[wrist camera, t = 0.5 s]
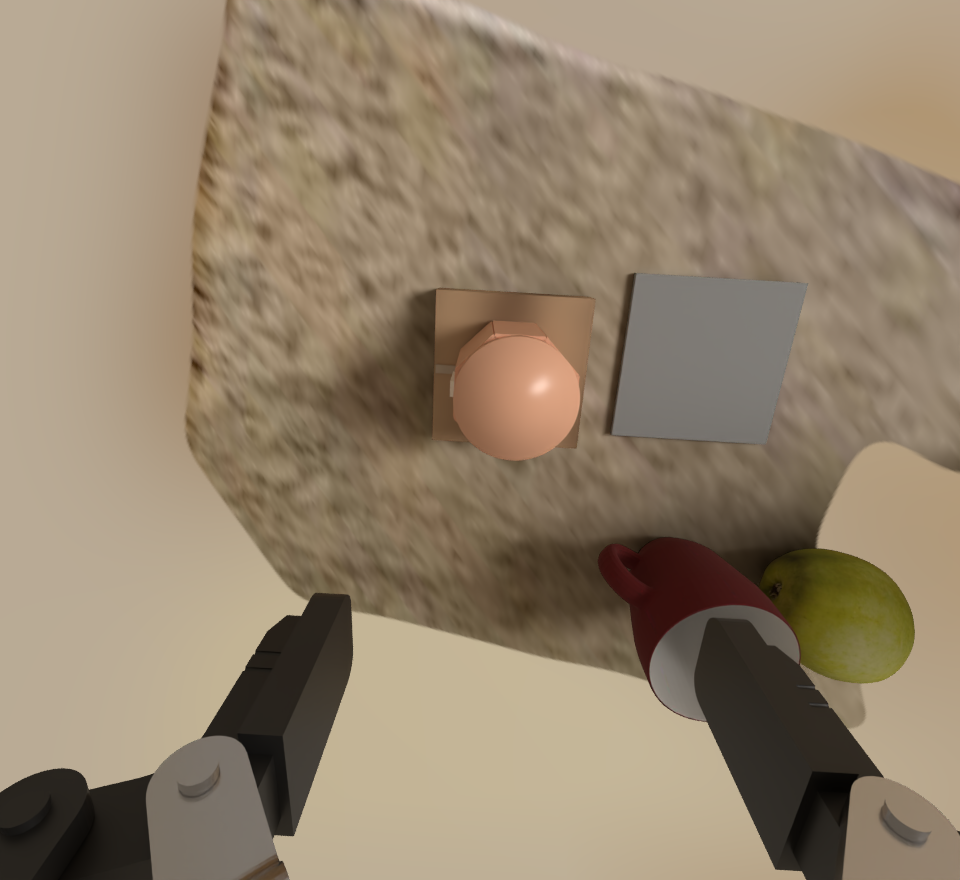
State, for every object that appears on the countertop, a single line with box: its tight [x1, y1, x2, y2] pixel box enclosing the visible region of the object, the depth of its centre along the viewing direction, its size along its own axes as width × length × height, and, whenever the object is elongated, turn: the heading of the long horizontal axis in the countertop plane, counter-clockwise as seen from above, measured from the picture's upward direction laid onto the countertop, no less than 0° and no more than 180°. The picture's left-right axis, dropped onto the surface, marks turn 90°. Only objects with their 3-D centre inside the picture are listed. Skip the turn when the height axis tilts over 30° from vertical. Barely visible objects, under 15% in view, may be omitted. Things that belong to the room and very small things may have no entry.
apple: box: [759, 549, 915, 683], centre depth 33 cm, size 8×9×8 cm
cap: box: [450, 320, 580, 460], centre depth 27 cm, size 6×6×6 cm
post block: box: [432, 288, 596, 448], centre depth 28 cm, size 9×9×7 cm
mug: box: [598, 537, 801, 722], centre depth 31 cm, size 10×8×10 cm
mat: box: [611, 273, 808, 444], centre depth 31 cm, size 10×10×1 cm
